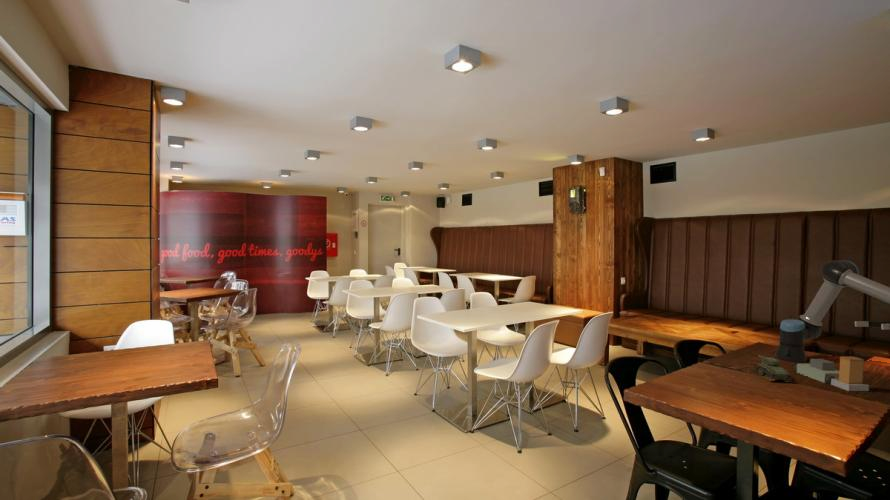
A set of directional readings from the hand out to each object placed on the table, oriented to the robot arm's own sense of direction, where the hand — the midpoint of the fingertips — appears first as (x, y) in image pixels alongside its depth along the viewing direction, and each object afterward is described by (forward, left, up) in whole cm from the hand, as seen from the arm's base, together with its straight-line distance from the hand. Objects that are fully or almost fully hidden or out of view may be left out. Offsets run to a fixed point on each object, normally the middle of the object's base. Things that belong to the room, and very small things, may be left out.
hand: (868, 325), depth 220 cm
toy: (-10, -43, -31) cm, 54 cm away
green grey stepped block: (-4, -14, -30) cm, 34 cm away
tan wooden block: (+6, -14, -30) cm, 34 cm away
